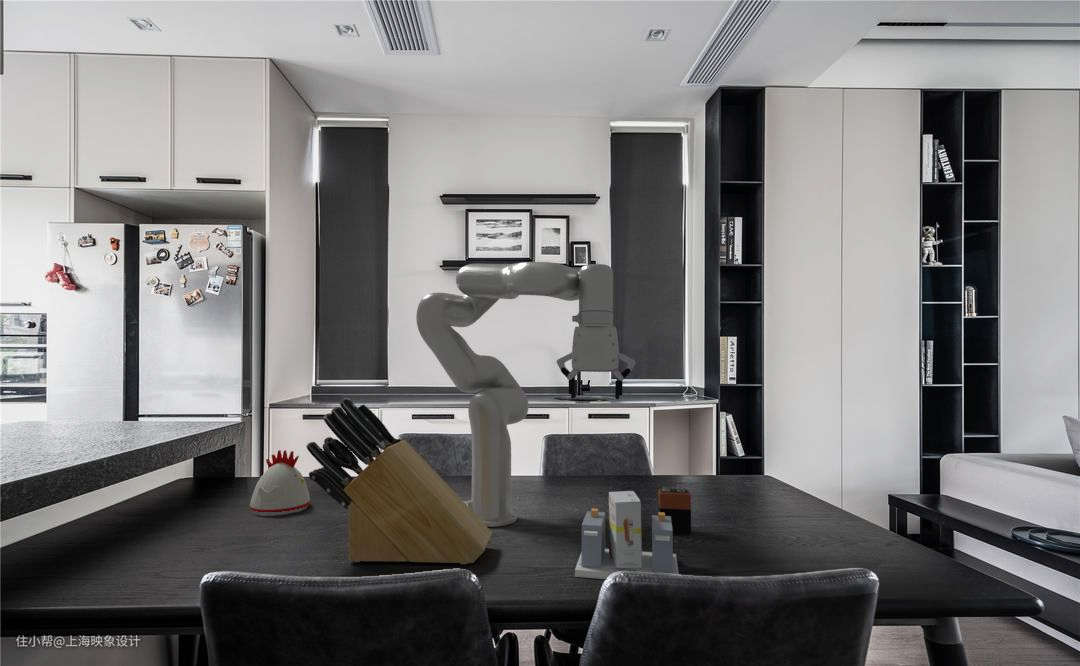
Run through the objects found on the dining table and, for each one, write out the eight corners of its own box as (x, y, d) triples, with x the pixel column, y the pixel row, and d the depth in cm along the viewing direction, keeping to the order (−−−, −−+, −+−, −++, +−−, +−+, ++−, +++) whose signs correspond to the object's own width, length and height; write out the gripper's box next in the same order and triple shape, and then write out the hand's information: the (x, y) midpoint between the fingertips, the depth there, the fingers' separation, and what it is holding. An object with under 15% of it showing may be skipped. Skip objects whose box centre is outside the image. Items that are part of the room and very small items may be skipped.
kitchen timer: (294, 516, 132) (296, 455, 133) (238, 516, 132) (240, 454, 133) (318, 502, 146) (319, 446, 147) (267, 501, 146) (269, 446, 147)
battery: (691, 535, 119) (691, 489, 119) (660, 534, 120) (659, 488, 120) (688, 529, 123) (688, 485, 124) (658, 528, 124) (657, 484, 125)
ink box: (607, 552, 104) (607, 490, 105) (633, 552, 104) (633, 490, 105) (615, 569, 96) (614, 501, 96) (642, 569, 96) (642, 501, 96)
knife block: (325, 543, 113) (329, 395, 115) (493, 547, 111) (494, 396, 113) (299, 563, 102) (303, 398, 103) (484, 567, 100) (485, 399, 101)
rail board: (574, 576, 96) (574, 520, 96) (583, 553, 107) (583, 502, 108) (679, 585, 92) (678, 526, 93) (676, 560, 104) (675, 508, 104)
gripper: (554, 319, 117) (553, 398, 117) (634, 319, 114) (634, 400, 113) (560, 322, 125) (559, 396, 124) (635, 321, 121) (635, 398, 120)
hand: (595, 398), depth 118 cm, fingers open, 9 cm apart
